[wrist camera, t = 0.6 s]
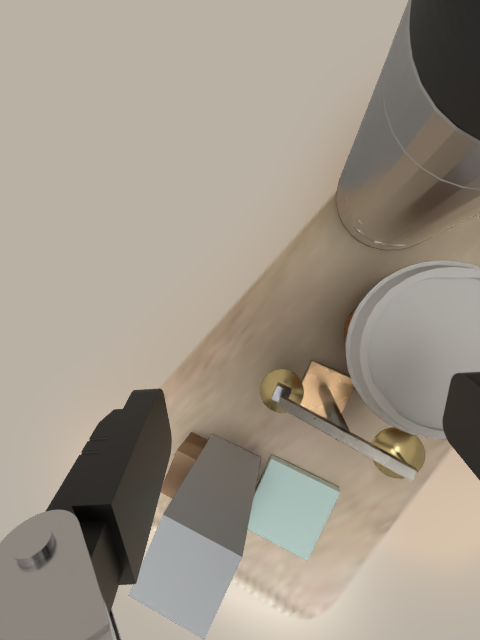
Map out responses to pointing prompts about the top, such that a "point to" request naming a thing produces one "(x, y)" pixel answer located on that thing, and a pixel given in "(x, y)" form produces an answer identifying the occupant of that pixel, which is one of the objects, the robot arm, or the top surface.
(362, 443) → the balance
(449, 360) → the disposable coffee cup
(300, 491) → the slab
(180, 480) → the block
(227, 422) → the top surface
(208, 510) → the cover
